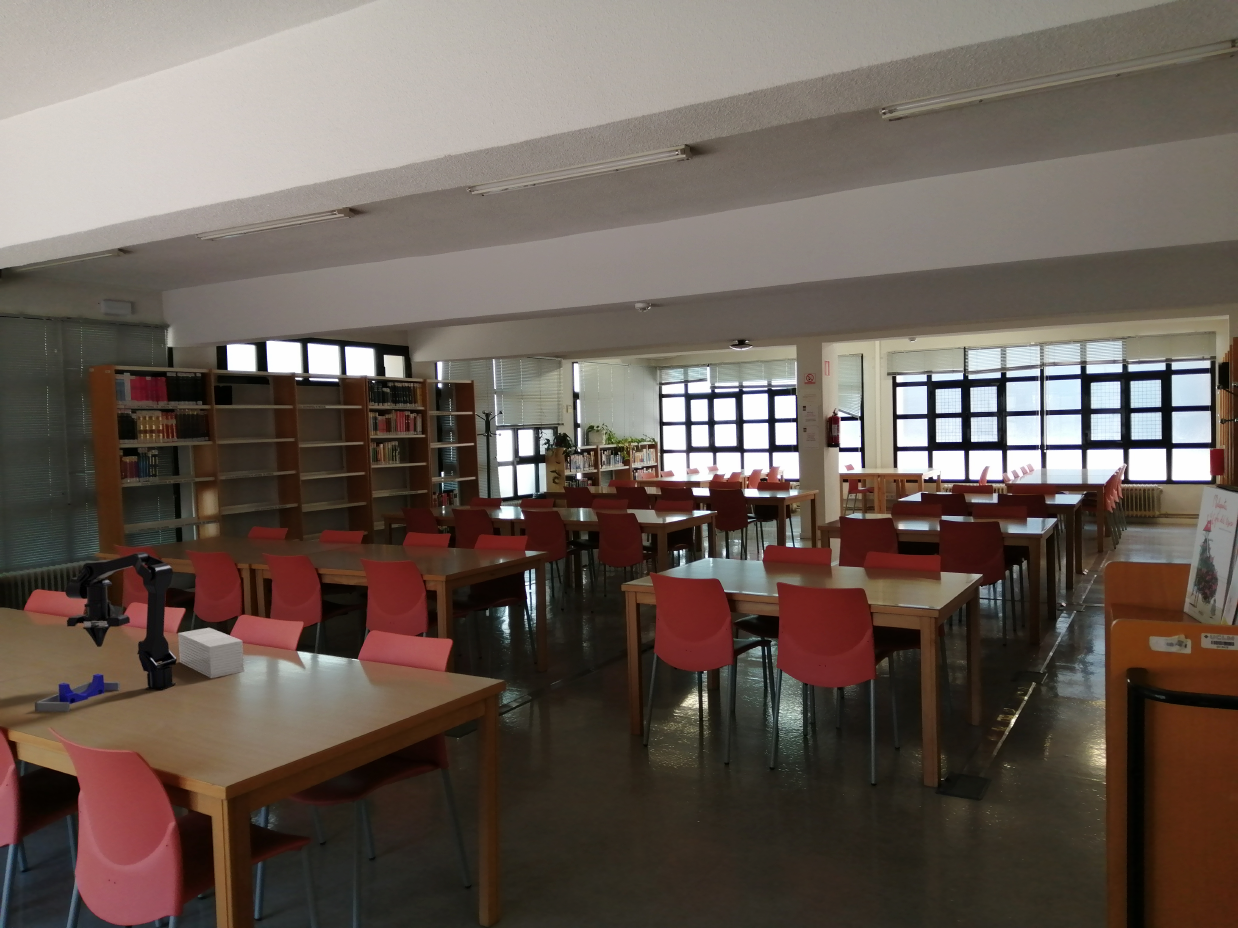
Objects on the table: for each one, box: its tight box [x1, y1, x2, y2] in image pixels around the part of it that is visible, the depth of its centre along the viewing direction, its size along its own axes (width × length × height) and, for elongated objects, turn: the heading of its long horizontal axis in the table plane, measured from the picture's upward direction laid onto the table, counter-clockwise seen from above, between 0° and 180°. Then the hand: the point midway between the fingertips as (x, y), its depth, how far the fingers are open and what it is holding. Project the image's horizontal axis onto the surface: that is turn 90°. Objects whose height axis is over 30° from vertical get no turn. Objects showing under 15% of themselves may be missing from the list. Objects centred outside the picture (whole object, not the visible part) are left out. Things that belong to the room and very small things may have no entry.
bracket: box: [34, 681, 121, 713], centre depth 269 cm, size 11×22×2 cm, turn 172°
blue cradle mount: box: [58, 673, 105, 705], centre depth 271 cm, size 12×4×6 cm, turn 152°
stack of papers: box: [177, 627, 245, 679], centre depth 305 cm, size 32×11×11 cm, turn 44°
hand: (99, 646), depth 287 cm, fingers closed
